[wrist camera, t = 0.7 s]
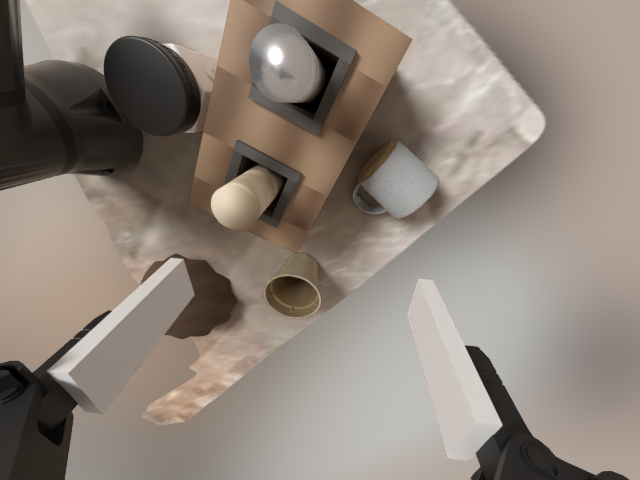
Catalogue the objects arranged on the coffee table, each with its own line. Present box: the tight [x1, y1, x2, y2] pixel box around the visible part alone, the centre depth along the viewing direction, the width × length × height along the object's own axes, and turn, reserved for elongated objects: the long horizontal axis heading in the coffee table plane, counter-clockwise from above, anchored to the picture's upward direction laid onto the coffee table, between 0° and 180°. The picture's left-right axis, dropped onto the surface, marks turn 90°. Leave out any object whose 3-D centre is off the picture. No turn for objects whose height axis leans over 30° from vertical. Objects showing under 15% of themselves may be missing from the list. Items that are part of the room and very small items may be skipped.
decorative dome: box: [140, 254, 237, 339], centre depth 49 cm, size 19×20×10 cm
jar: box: [104, 36, 218, 136], centre depth 28 cm, size 9×8×12 cm
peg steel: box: [249, 23, 328, 103], centre depth 20 cm, size 4×4×11 cm
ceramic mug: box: [353, 140, 439, 219], centre depth 33 cm, size 11×8×8 cm
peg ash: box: [211, 164, 287, 231], centre depth 25 cm, size 4×4×11 cm
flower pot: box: [263, 253, 321, 319], centre depth 42 cm, size 9×9×9 cm
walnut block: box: [189, 0, 413, 254], centre depth 28 cm, size 14×23×13 cm, turn 154°
